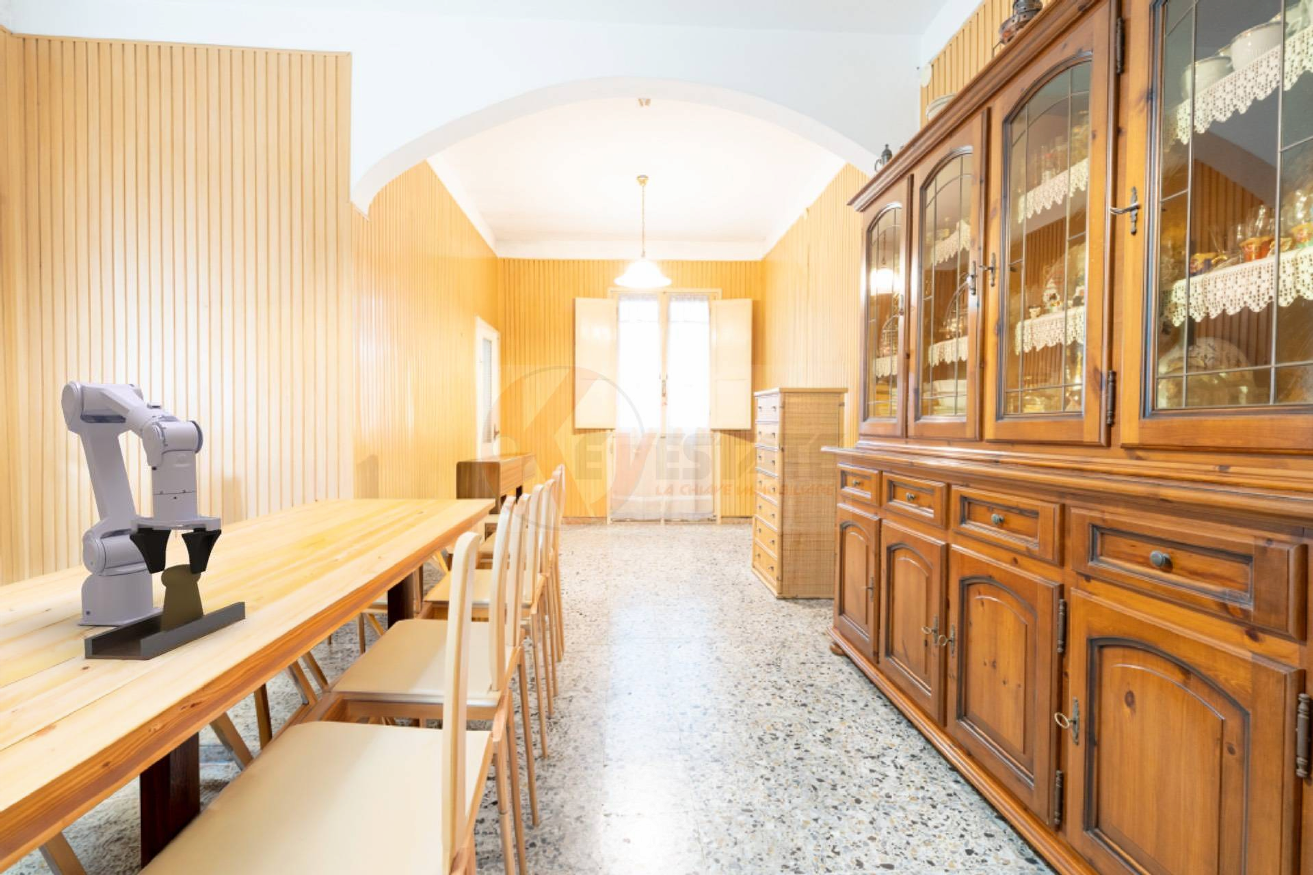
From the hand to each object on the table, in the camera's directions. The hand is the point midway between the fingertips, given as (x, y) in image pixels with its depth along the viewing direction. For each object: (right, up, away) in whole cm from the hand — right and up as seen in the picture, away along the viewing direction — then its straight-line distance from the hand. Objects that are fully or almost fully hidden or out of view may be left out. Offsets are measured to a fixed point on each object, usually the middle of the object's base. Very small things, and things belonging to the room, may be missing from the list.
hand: (177, 572), depth 95 cm
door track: (0, -10, -1) cm, 10 cm away
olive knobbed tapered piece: (0, -10, +1) cm, 10 cm away
